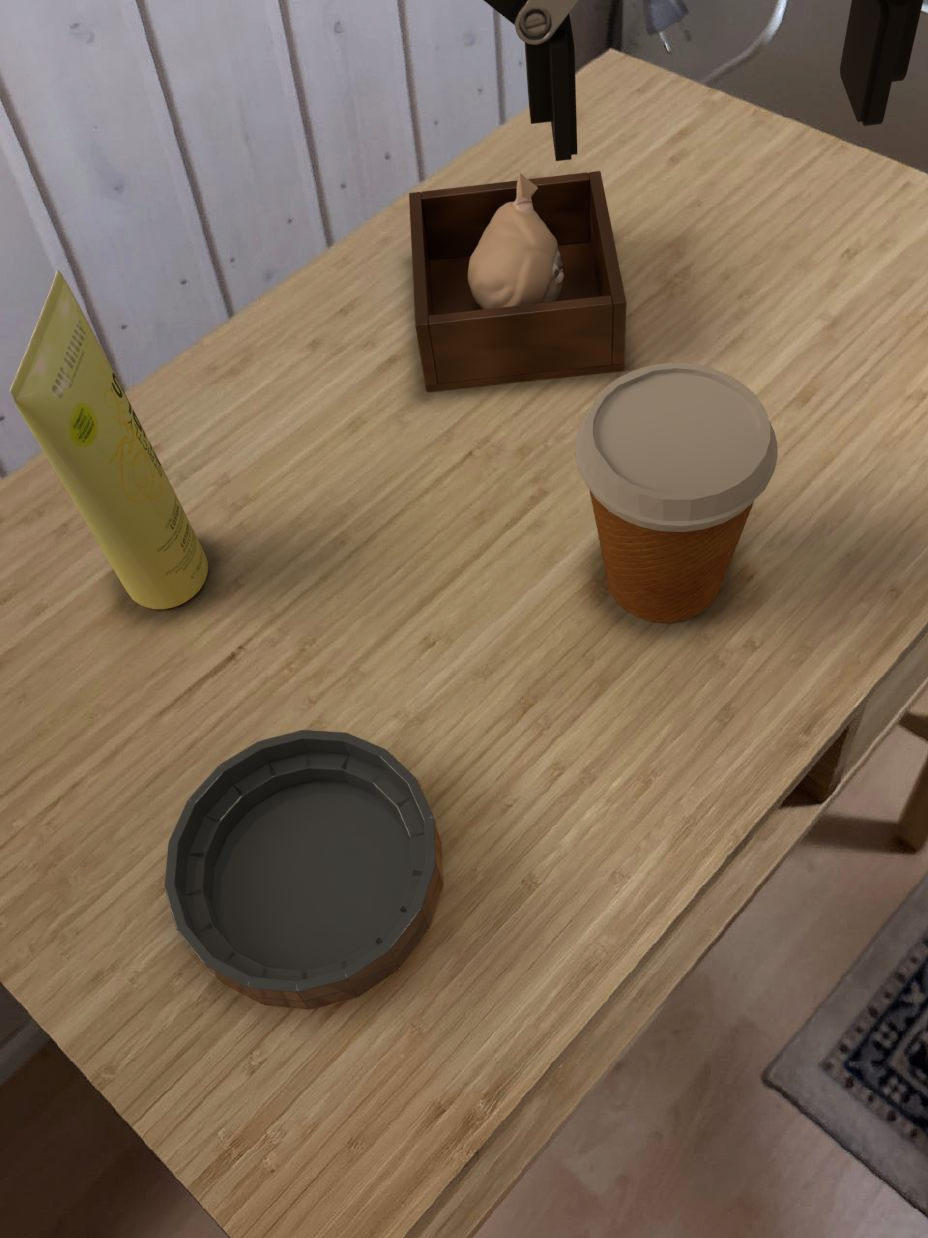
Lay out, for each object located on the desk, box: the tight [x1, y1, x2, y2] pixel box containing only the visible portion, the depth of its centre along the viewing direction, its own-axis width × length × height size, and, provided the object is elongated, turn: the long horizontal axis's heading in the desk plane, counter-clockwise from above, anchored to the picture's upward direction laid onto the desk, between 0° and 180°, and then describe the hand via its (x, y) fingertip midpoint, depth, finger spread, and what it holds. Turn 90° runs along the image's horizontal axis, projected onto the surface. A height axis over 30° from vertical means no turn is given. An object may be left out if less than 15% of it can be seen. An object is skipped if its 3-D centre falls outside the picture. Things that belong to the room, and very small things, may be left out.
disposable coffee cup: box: [574, 362, 779, 624], centre depth 59 cm, size 10×10×12 cm
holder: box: [408, 170, 627, 392], centre depth 74 cm, size 13×13×6 cm
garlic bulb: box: [468, 172, 564, 309], centre depth 72 cm, size 7×6×8 cm
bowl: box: [164, 729, 444, 1011], centre depth 54 cm, size 13×13×4 cm
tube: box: [9, 269, 209, 610], centre depth 58 cm, size 6×5×20 cm
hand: (709, 117), depth 37 cm, fingers open, 9 cm apart
